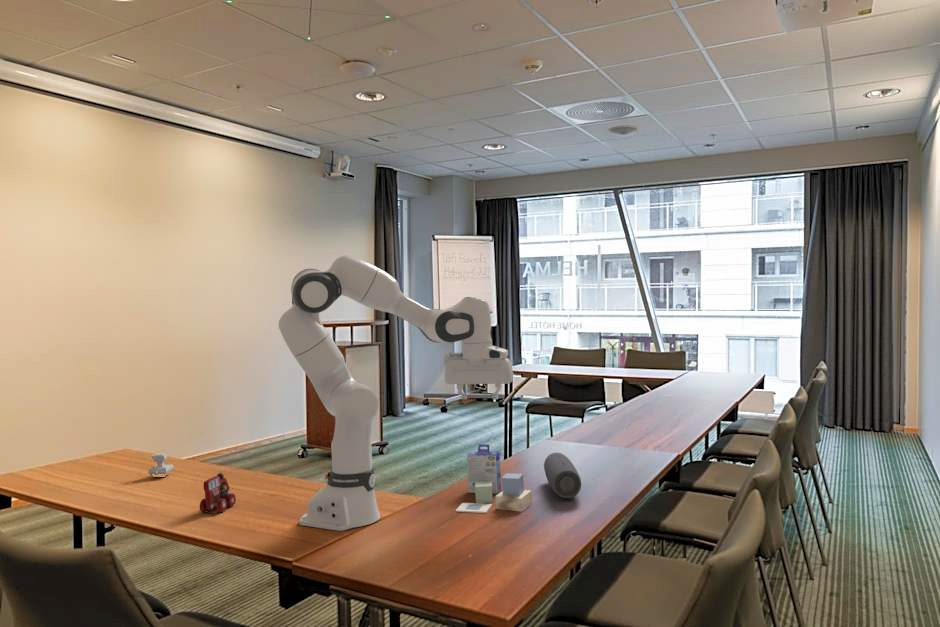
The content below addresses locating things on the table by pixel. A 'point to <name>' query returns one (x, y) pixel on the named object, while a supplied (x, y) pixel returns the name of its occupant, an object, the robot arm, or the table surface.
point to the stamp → (160, 465)
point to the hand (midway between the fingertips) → (479, 399)
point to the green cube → (483, 492)
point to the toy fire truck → (217, 494)
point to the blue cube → (512, 484)
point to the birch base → (514, 501)
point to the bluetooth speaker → (562, 475)
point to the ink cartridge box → (484, 468)
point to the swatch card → (474, 507)
